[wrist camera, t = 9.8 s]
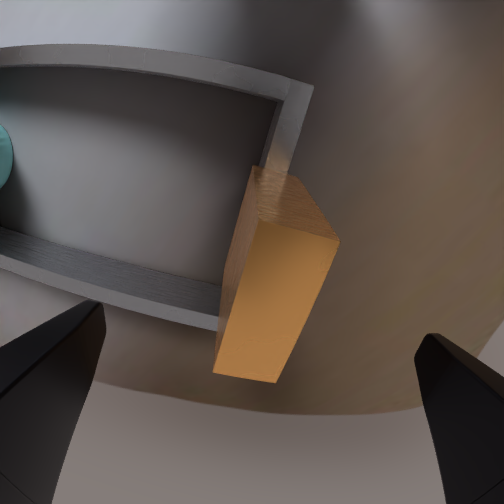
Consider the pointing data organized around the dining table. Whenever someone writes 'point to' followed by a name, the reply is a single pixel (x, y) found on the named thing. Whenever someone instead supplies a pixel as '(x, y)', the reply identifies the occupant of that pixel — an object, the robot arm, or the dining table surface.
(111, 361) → the dining table surface
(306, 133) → the dining table surface
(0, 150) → the cupcake
